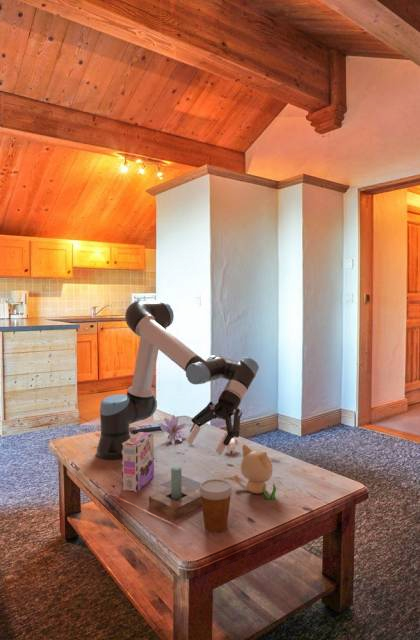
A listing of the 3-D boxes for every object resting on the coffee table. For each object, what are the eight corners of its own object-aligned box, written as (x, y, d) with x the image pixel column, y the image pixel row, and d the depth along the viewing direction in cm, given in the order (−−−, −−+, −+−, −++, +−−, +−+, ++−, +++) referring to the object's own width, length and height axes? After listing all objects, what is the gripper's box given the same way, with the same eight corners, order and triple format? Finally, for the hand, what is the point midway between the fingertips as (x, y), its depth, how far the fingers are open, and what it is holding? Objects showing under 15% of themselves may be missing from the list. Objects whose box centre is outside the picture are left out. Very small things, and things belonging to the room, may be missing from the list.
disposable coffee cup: (198, 519, 129) (197, 479, 129) (230, 517, 130) (230, 477, 129) (200, 536, 120) (199, 493, 119) (234, 535, 121) (234, 492, 120)
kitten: (284, 494, 145) (285, 450, 144) (264, 504, 138) (264, 457, 137) (251, 480, 156) (251, 439, 155) (231, 489, 149) (231, 445, 149)
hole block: (149, 507, 136) (148, 496, 136) (176, 494, 145) (176, 484, 145) (176, 520, 129) (176, 508, 128) (203, 505, 138) (203, 494, 137)
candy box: (137, 493, 146) (136, 444, 145) (121, 491, 148) (120, 443, 147) (154, 477, 160) (154, 432, 159) (139, 475, 161) (139, 430, 160)
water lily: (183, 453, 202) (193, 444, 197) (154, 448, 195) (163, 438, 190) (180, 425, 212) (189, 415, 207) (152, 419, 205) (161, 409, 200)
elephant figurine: (238, 448, 188) (238, 435, 188) (239, 455, 180) (239, 441, 180) (222, 449, 188) (222, 435, 188) (223, 456, 180) (223, 441, 180)
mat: (160, 485, 152) (160, 484, 152) (181, 476, 160) (181, 475, 160) (185, 496, 144) (185, 494, 144) (206, 486, 152) (206, 484, 152)
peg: (169, 506, 137) (168, 469, 136) (176, 503, 139) (176, 466, 139) (176, 510, 135) (176, 471, 134) (184, 506, 137) (183, 468, 136)
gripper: (265, 408, 152) (236, 463, 142) (211, 395, 168) (182, 443, 158) (256, 395, 147) (226, 451, 137) (201, 383, 164) (171, 432, 154)
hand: (202, 447), depth 148 cm, fingers open, 13 cm apart
